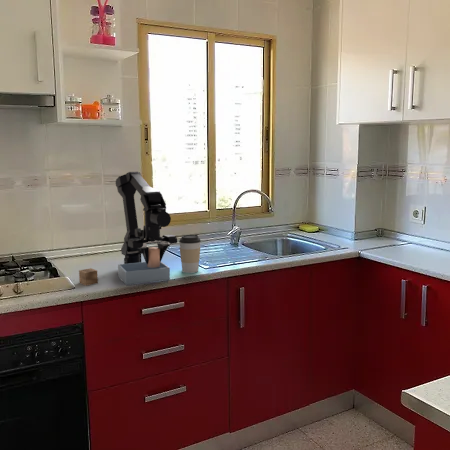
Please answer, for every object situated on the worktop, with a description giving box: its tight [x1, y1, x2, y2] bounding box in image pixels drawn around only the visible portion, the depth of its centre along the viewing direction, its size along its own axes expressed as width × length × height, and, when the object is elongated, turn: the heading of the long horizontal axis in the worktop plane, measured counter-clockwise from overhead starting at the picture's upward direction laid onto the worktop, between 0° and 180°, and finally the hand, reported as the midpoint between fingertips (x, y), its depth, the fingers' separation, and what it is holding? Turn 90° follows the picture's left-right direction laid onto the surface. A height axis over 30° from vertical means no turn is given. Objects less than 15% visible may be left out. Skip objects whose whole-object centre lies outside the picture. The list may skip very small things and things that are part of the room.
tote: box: [117, 261, 171, 286], centre depth 199 cm, size 17×13×5 cm
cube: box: [78, 267, 99, 286], centre depth 193 cm, size 5×5×5 cm
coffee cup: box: [178, 234, 202, 274], centre depth 210 cm, size 9×9×15 cm
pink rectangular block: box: [147, 246, 160, 268], centre depth 197 cm, size 5×5×7 cm
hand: (153, 262), depth 198 cm, fingers closed on pink rectangular block, 5 cm apart
